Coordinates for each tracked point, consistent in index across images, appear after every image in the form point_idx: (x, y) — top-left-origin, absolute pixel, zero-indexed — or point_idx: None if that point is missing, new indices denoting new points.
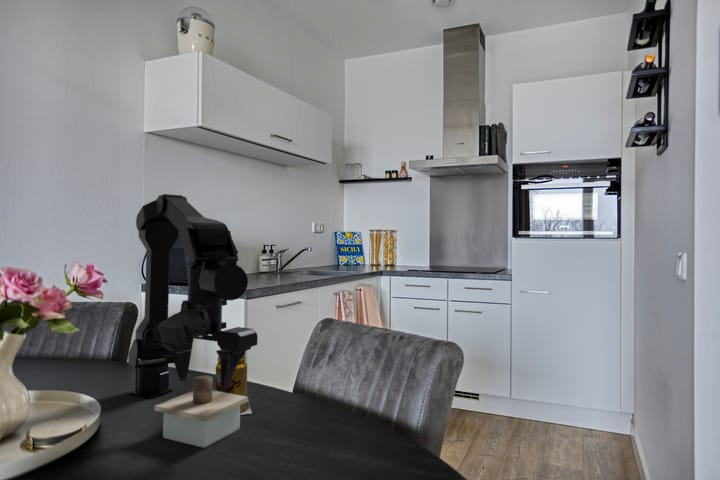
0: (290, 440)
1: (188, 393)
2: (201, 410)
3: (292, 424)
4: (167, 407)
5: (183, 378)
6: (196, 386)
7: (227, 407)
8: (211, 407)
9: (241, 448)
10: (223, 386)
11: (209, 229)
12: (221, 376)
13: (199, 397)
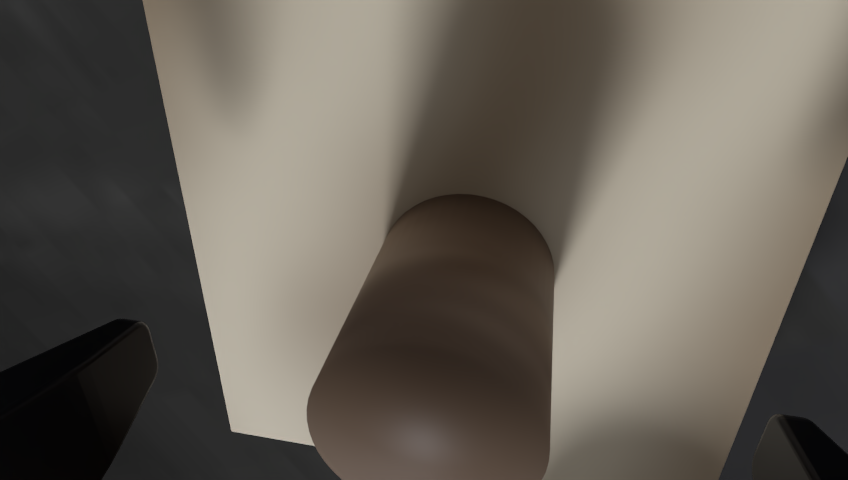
0: (31, 234)
1: (730, 393)
2: (286, 59)
3: (164, 385)
4: None
5: (770, 450)
6: (440, 294)
7: (196, 229)
8: (272, 162)
9: (131, 55)
10: (101, 326)
11: None
12: (17, 398)
13: (419, 227)
